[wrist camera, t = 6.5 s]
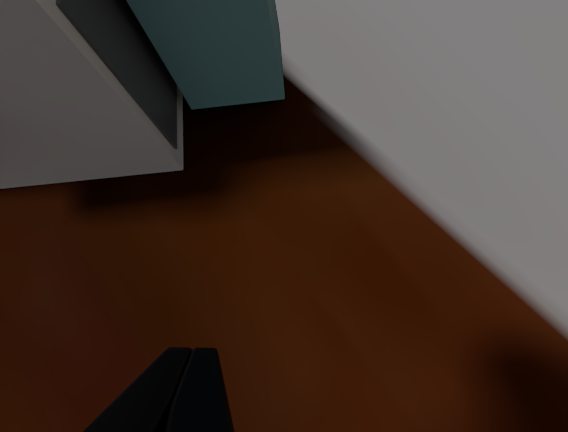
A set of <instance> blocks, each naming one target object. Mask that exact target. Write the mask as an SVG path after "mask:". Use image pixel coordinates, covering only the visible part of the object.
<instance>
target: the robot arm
mask: <svg viewBox="0 0 568 432" xmlns="http://www.w3.org/2000/svg"><path fill="white" fill-rule="evenodd" d="M83 432H234V427H233V423H232V418H231V413H230V408H229V403H228V398H227V394H226V389H225V384H224V379H223V374H222V369H221V365H220V360H219V355H218V351H217V349H215V348H195V349H193V350H192V349H191V348H188V347H170V348H168V349H166V350H165V351H164V352H163V353H162V354H161V355H160V356H159V357H158V358H157V359H156V360H155V361H154V362H153V363H152V364H151V365H150V366H149V367H148V368H147V369H146V370H145V371H144V372H143V373H142V374H141V375H140V376H139V377H138V378H137V379H136V380H135V381H134V382H132V383H131V384H130V385H129V386H128V387H127V388H126V389H125V390H124V391H123V392H122V393H121V394H120V395H119V396H118V397H117V398H116V399H115V400H114V401H113V402H112V403H111V404H110V405H109V406H108V407H107V408H106V409H105V410H104V411H103V412H102V413H101V414H100V415H99V416H98V417H97V418H96V419H95V420H94V421H93V422H92V423H91V424H90V425H89V426H88V427H87V428H86V429H85V430H84V431H83Z"/></svg>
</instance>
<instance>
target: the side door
mask: <svg viewBox="0 0 568 432" xmlns="http://www.w3.org/2000/svg"><path fill="white" fill-rule="evenodd" d="M126 1H127V2H128V4H129V6H130V7H131V9H132V11H133V12H134V14H135V16H136V17H137V19H138V21H139V22H140V24H141V26H142V27H143V29H144V31H145V32H146V34H147V36H148V37H149V39H150V41H151V42H152V44H153V46H154V47H155V49H156V51H157V52H158V54H159V56H160V57H161V59H162V61H163V62H164V64H165V66H166V67H167V69H168V71H169V72H170V74H171V76H172V77H173V79H174V81H175V82H176V84H177V86H178V87H179V89H180V91H181V92H182V94H183V96H184V97H185V99H186V101H187V102H188V104H189V106H190V108H191V109H192V110H193V109H202V108H210V107H219V106H228V105H237V104H246V103H255V102H264V101H273V100H282V99H285V93H284V81H283V68H282V56H281V43H280V32H279V24H278V17H277V11H276V5H275V0H126Z"/></svg>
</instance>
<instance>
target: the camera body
mask: <svg viewBox="0 0 568 432" xmlns="http://www.w3.org/2000/svg"><path fill="white" fill-rule="evenodd" d="M180 170H183V94H182V92H181V91H180V89H179V87H178V86H177V84H176V82H175V81H174V79H173V77H172V76H171V74H170V72H169V71H168V69H167V67H166V66H165V64H164V62H163V61H162V59H161V57H160V56H159V54H158V52H157V51H156V49H155V47H154V46H153V44H152V42H151V41H150V39H149V37H148V36H147V34H146V32H145V31H144V29H143V27H142V26H141V24H140V22H139V21H138V19H137V17H136V16H135V14H134V12H133V11H132V9H131V7H130V6H129V4H128V2H127V1H126V0H0V189H4V188H14V187H23V186H33V185H43V184H53V183H62V182H72V181H82V180H92V179H101V178H111V177H121V176H131V175H141V174H150V173H160V172H170V171H180Z"/></svg>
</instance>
